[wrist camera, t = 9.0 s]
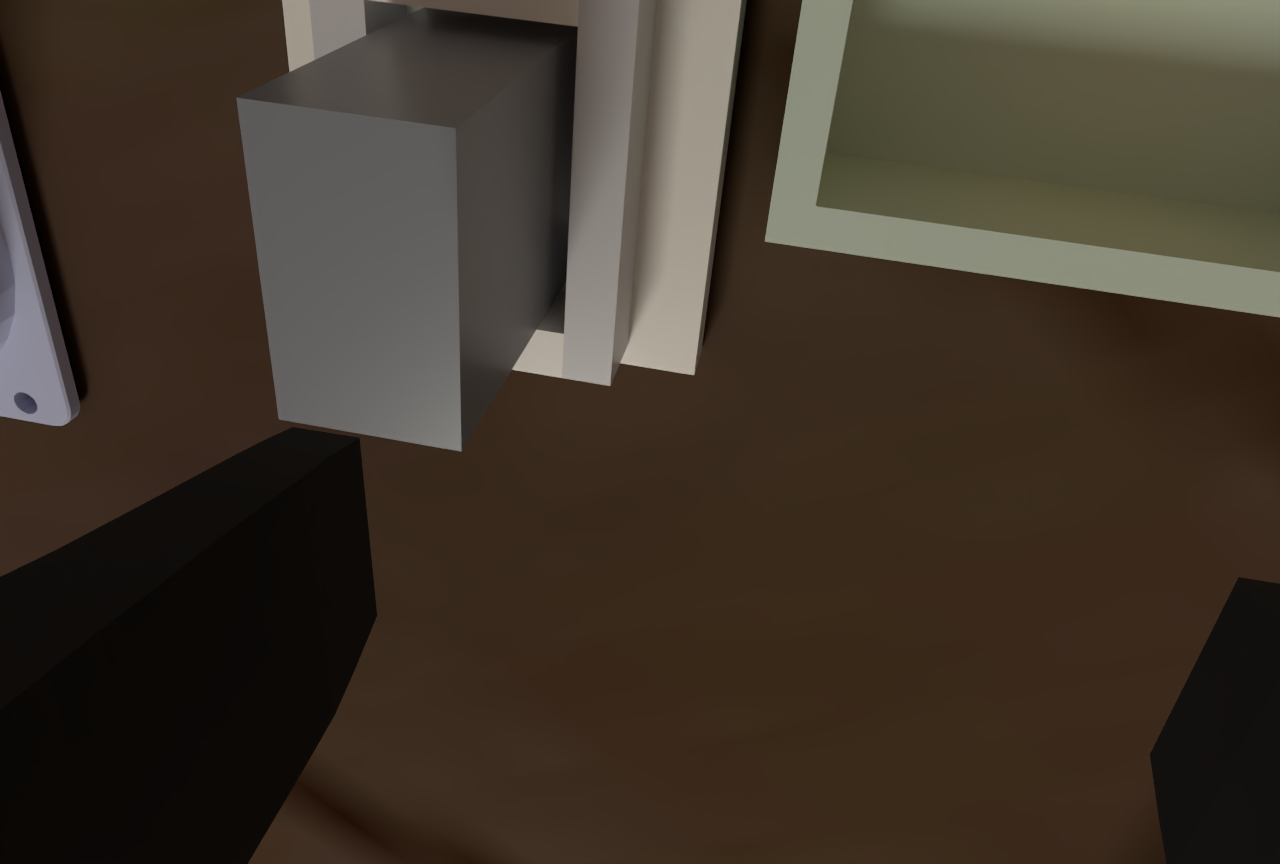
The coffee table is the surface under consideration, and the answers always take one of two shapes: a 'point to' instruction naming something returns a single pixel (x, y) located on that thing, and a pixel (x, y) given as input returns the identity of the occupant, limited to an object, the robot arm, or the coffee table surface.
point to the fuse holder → (612, 166)
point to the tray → (1042, 142)
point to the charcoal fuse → (411, 219)
